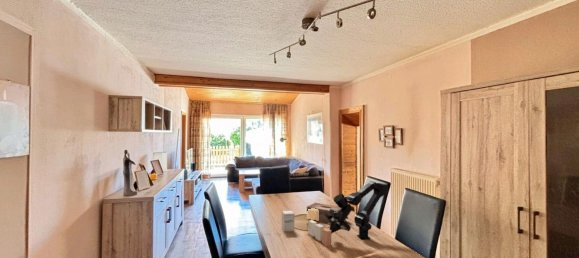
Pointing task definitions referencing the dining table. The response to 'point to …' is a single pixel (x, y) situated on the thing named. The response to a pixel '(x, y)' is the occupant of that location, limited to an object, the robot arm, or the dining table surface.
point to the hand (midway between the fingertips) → (329, 233)
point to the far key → (311, 227)
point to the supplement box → (288, 220)
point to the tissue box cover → (323, 210)
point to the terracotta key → (326, 237)
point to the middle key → (318, 231)
